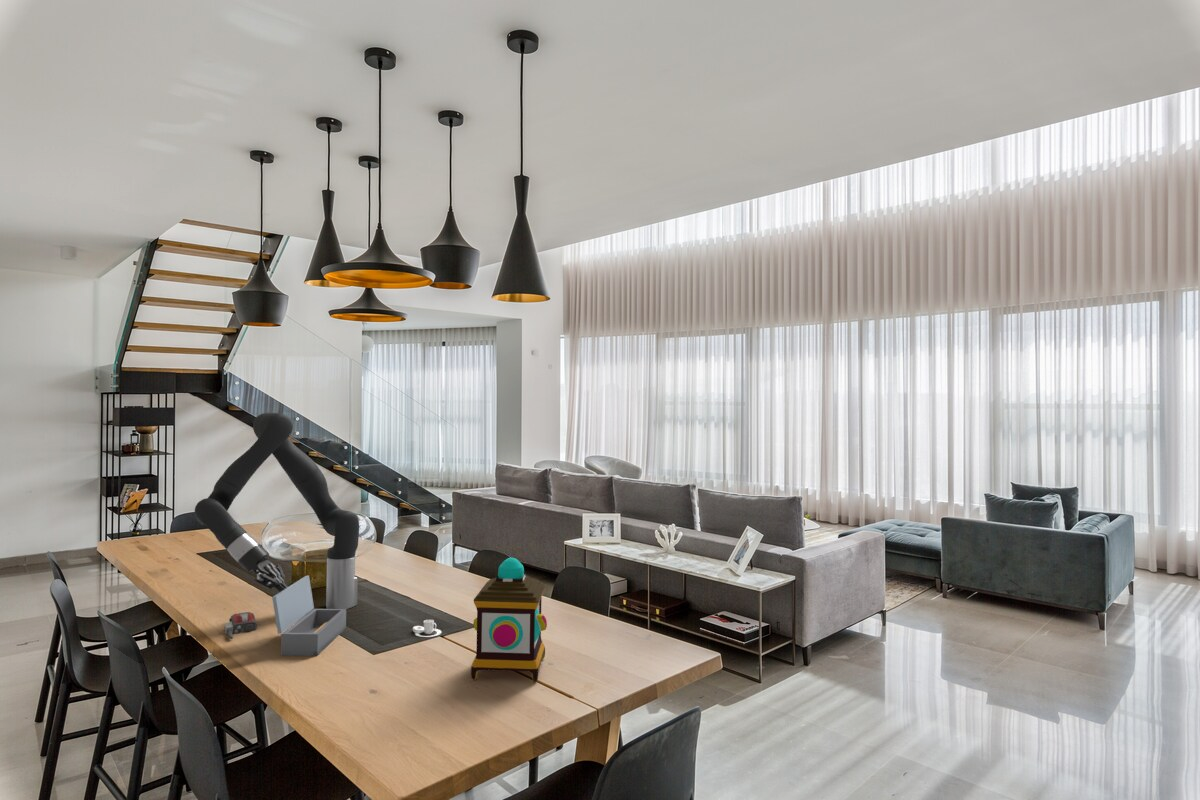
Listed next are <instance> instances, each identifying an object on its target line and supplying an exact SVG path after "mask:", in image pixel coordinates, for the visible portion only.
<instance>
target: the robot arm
mask: <svg viewBox="0 0 1200 800" xmlns="http://www.w3.org/2000/svg"><path fill="white" fill-rule="evenodd" d="M293 429H294V423H293V420H292V418H290V417H289V415H287V414H285V413H281V412H280V413H279V412H265V413H261V414H258V415H257V416H256V417H255V418H254V420H253V423H252V430H253V433H254V435H255V437H256V438H257V439H256V440H255V442H254V443H253V444H252V445H251V446H250V447H249V448H248V449H247V450H246V451H245V452H244V453H243V454H241V455H240V456H239V457H238V458H237V459H235V460H234V461H233V462H232V463H231V464H230V465H229V466H228V467H227V468H226V469H225V471H224V472H223V473H222V475H220V477H219V478H218V480H217V481H216V482H215V484H214V486H213V490H212V492H211V493H210V494H209V496H208V497H207V498H203V499H201V500H199V501H198V502H197V503H196V505H195V507H194V515H195V518H196V520H197V522H198V523H199V524H201V525H202V526H205V527H206V528H207V529H208V530H209V531H210V532H211V533H212V534H213V535H214V537H215V538H216V540H217V541H218V542H219V543H220V544H221V545H222V546H223V547H224V548H225V550H227V552H228V553H229V554H230V556H231V557H232V558H233V559H234V560H235V561H236V562H237V563H238V565H240V566H241V568H243V569H244V570H245V571H246V572H247V573H251V572H253V573H254V574H255V575H256V578H255V579H254V581H255V582H256V583H258V584H261V585H263V586H264V587H266V588H269V589H270V590H273V589H275V590H277V591H278V593H279V592H281V591H283V590H284V589H286V588H287V587H289V586H288V584H286V583H285V580H286V575H285V573H284V571H283V568H282V566H281V565H280V564H277V565H275V564H273V562H272V561H270V560H269V559H268V557H270V553H269V552H268V551H267V550H266V549H265V548H264V547H263V546H262V545H261V544H260V542H258V540H257V539H255V537H254V536H252V535H251V534H249V533H248V531H246V529H244V527H243V526H241V524H239V523H238V521H236V520H235V519H234V518H233V517H232V515H230V512H228V510H229V509H230V507H231V506H232V504H233V501H234V500H235V499H236V498H237V496H238V495H239V494H240V493H241V491H242V490H243V489H244V488H245V486H246V485H247V483H248V482H249V481H250V479H251V478H252V477H253V476H254V474H255V473H256V472H257V470H258V469H259V468H260V467H261V466H262V465H263V464H264V463H265V462H266V460H267V459H268V458H270V456H271V455H273V457H274V458H275V459H276V460H277V462H278V463H279V466H280V467H281V468H282V470H283V471H284V472H285V474H286V475H287V477H288V478H289V479H290V481H291V482H292V484H293V485H294V486H295V488H296V489H297V490H298V492H299V493H300V495H301V496H302V497H303V499H305V501H306V502H307V504H308V505H309V506H310V507H311V509H312V510H313V512H314V514H315V516H316V517H317V519H318V520H319V523H320V524H321V526H322V528H323V529H324V531H325V532H326V534H329V535H330V536H331V537H332V536H333V537H334V539H333V545H332V546H330V547H329V548H328V549H327V551H326V554H327V555H326V588H325V589H326V592H325V594H326V595H325V597H326V598H325V599H326V601H325V609H346V610H348V609H351V608H353V607H355V606H358V577H356V553H357V552H356V551H357V549H358V546H359V536H360V521H359V517H358V515H357V514H356V513H355V512H353V511H350V510H343V509H341V508H340V507H339V506H338V504H336V502H335V501H334V500H333V498H332V497H331V495H330V492H329V488H328V481H327V479H326V477H325V475H324V473H323V472H322V471H321V469H320V468H319V466H318V465H317V463H316V462H315V461H314V460H313V459H312V458H311V457H309V455H308V454H306V453H305V452H304V451H302V450H301V449H300V448H299V447H297V446H296V444H294V442H292V440H291V439H290V436H291V434H292V433H293Z"/></svg>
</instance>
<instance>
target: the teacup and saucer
mask: <svg viewBox="0 0 1200 800" xmlns="http://www.w3.org/2000/svg"><path fill="white" fill-rule="evenodd" d="M412 631H413V633H414V635H415V636H416V637H419V638H431V637H437V636H439V635H441V634H442V630H441V629H438V628H437V623H436V622H435V620H434V619H425V620H423V626H421V625H414V626H413V627H412ZM433 632H435V634H433ZM423 633H424V634H426V635H422V634H423ZM431 634H432V635H431Z"/></svg>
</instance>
